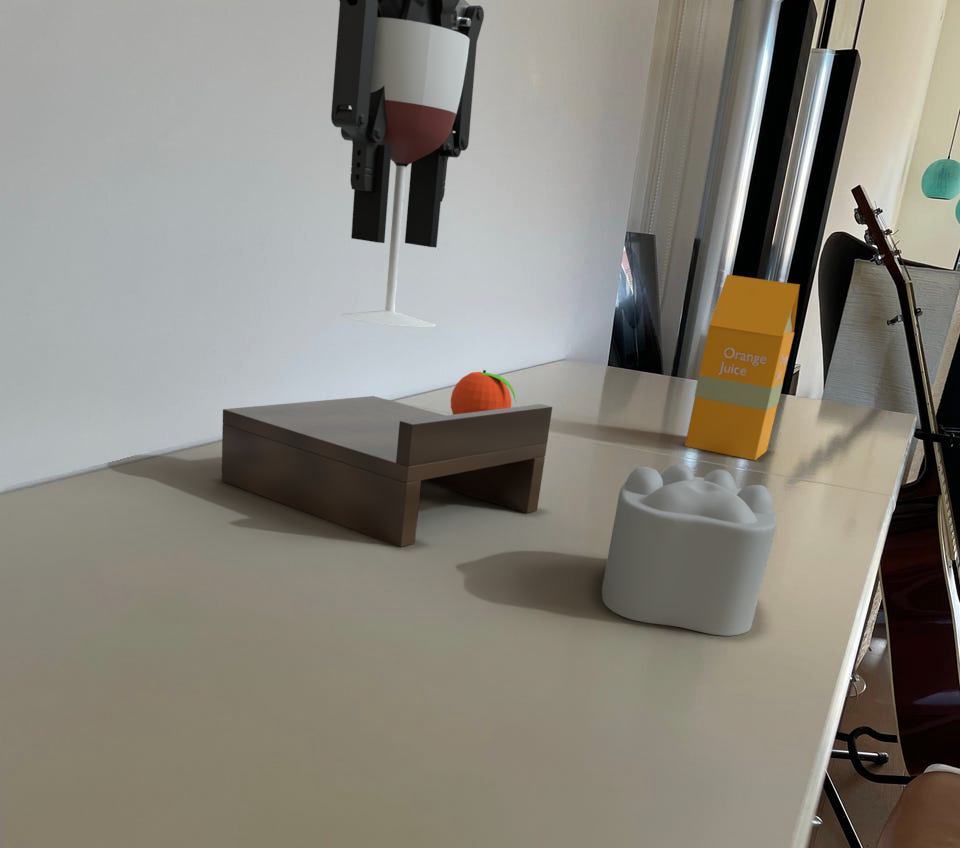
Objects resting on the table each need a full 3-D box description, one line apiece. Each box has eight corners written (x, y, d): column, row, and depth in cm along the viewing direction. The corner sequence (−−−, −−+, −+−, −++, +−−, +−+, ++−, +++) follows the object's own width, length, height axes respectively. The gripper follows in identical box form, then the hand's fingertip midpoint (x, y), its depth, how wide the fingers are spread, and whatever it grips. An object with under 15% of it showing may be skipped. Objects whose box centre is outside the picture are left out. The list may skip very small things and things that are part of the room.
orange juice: (699, 437, 128) (733, 274, 120) (767, 451, 125) (806, 284, 117) (683, 446, 121) (718, 274, 114) (755, 460, 118) (795, 284, 110)
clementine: (526, 438, 114) (534, 375, 111) (495, 445, 109) (503, 379, 106) (468, 424, 118) (475, 363, 115) (435, 430, 112) (442, 366, 109)
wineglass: (315, 310, 78) (329, 19, 71) (401, 314, 84) (423, 44, 76) (375, 326, 73) (397, 14, 65) (462, 329, 79) (493, 41, 71)
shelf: (221, 481, 82) (223, 371, 79) (368, 457, 96) (375, 363, 93) (400, 547, 72) (412, 424, 69) (537, 510, 86) (552, 406, 82)
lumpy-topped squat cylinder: (596, 613, 64) (620, 484, 61) (608, 555, 76) (628, 445, 73) (757, 642, 63) (790, 511, 60) (744, 579, 75) (771, 467, 72)
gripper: (371, -178, 58) (345, 241, 68) (543, -82, 72) (503, 254, 82) (284, -166, 62) (271, 229, 71) (463, -77, 76) (433, 244, 85)
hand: (394, 242), depth 76 cm, fingers closed on wineglass, 5 cm apart
